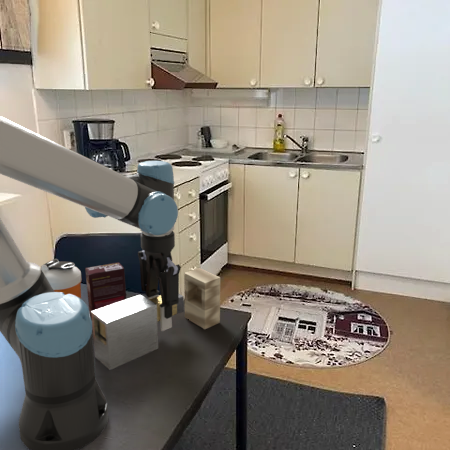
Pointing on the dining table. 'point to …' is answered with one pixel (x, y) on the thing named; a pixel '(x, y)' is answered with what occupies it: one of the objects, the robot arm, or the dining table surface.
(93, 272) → the supplement box
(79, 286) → the shaker bottle
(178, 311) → the yellow square bar
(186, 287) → the socket
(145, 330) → the sleeve
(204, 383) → the dining table surface
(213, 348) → the dining table surface
